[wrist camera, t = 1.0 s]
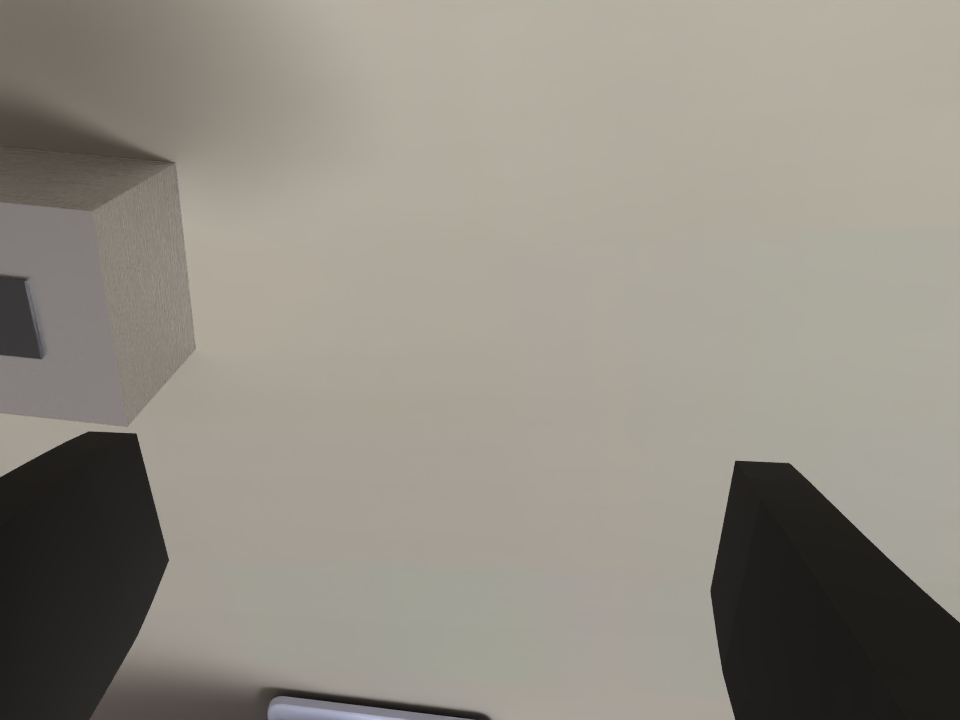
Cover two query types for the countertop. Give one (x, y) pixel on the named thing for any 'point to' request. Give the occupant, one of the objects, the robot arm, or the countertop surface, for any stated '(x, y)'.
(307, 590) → the countertop surface
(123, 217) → the block
